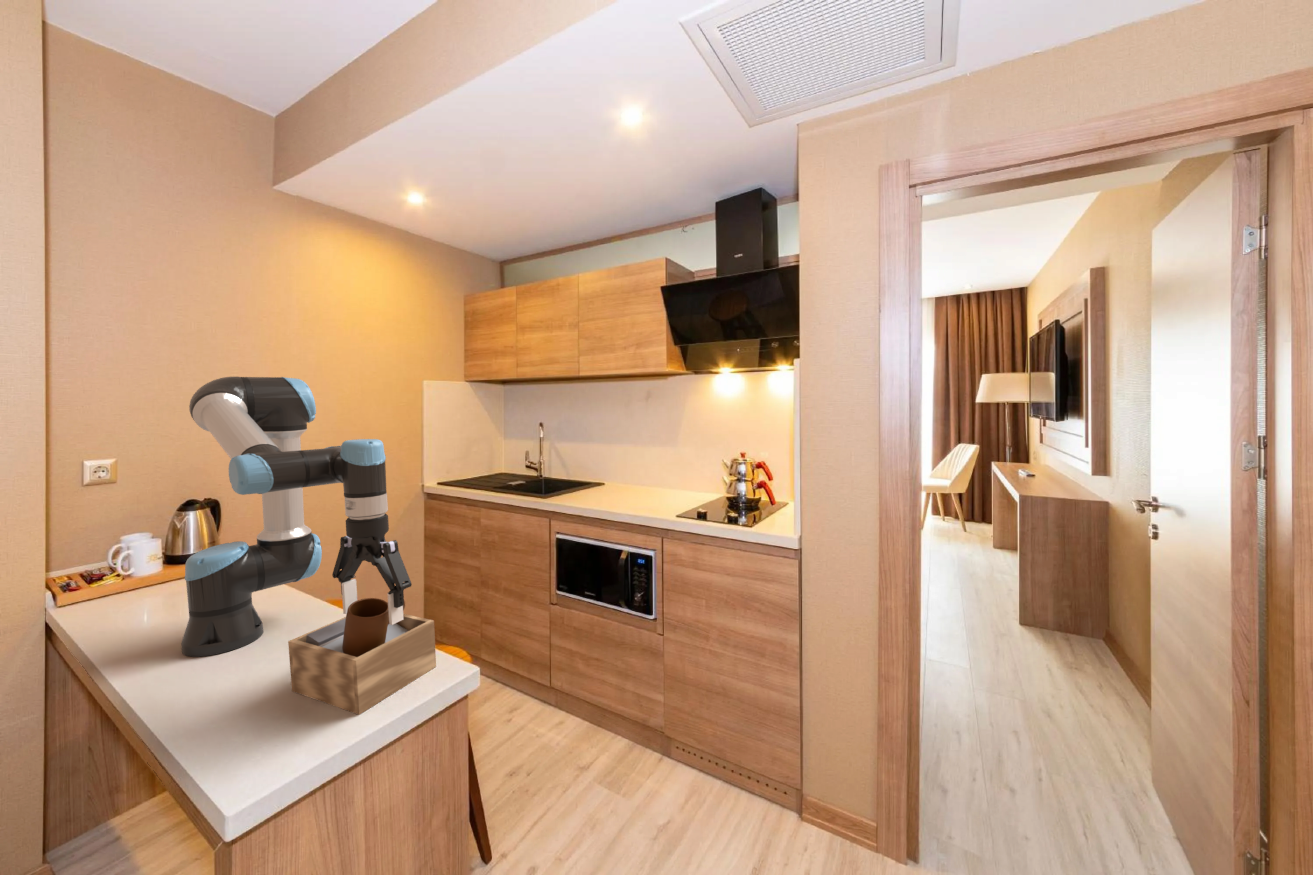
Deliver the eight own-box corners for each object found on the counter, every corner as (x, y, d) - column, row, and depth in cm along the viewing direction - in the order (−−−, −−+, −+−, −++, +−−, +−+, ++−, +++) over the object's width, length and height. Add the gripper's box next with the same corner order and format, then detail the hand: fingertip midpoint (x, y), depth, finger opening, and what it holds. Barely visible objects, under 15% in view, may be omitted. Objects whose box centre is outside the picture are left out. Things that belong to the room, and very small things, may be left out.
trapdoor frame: (291, 691, 101) (288, 641, 100) (373, 649, 118) (370, 606, 117) (359, 714, 93) (356, 660, 93) (436, 666, 110) (433, 620, 109)
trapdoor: (302, 652, 101) (304, 635, 101) (370, 621, 115) (372, 606, 114) (347, 682, 96) (349, 665, 96) (412, 646, 110) (414, 631, 109)
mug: (389, 624, 111) (394, 586, 109) (411, 640, 107) (417, 601, 106) (333, 648, 100) (338, 606, 98) (356, 666, 97) (362, 623, 95)
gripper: (308, 514, 103) (315, 613, 105) (394, 525, 93) (400, 635, 95) (343, 506, 110) (349, 600, 112) (427, 516, 100) (432, 618, 102)
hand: (373, 616), depth 103 cm, fingers open, 13 cm apart
